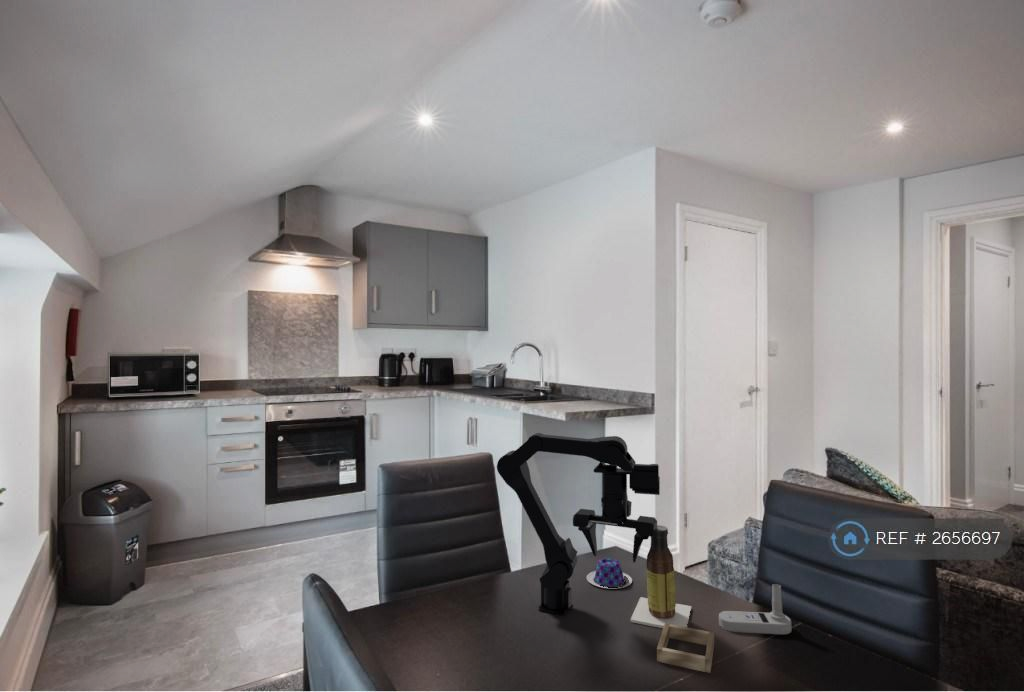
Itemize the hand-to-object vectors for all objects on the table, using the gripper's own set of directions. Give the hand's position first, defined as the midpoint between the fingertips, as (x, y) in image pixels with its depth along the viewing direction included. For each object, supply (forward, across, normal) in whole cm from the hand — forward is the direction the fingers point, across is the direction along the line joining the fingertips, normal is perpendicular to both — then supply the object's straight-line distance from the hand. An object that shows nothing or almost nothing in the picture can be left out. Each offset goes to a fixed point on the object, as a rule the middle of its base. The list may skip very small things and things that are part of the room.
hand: (614, 558), depth 128 cm
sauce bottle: (+13, -10, -4) cm, 16 cm away
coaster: (+13, -10, -4) cm, 17 cm away
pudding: (+14, +6, -18) cm, 23 cm away
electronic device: (+14, -30, -6) cm, 33 cm away
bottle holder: (+13, -17, +10) cm, 24 cm away
